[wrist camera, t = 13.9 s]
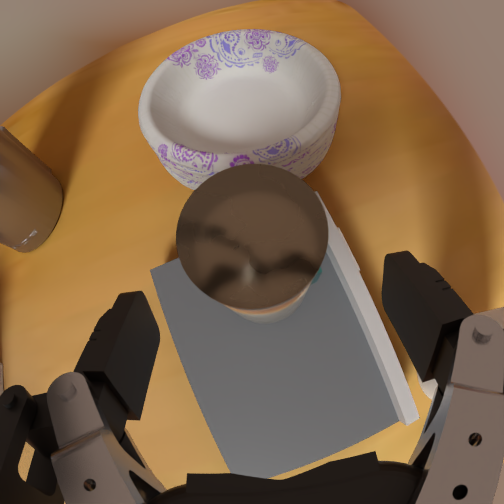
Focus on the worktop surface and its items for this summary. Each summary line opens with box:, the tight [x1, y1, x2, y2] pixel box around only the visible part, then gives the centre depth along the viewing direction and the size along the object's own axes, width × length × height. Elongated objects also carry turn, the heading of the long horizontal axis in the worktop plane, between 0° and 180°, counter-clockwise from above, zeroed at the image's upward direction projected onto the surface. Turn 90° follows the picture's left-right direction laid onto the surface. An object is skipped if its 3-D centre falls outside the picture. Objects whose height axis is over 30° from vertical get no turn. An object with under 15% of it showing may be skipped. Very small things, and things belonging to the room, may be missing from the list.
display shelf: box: [150, 191, 420, 479], centre depth 20 cm, size 17×13×4 cm
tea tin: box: [176, 164, 329, 324], centre depth 16 cm, size 6×6×10 cm
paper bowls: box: [138, 29, 341, 190], centre depth 23 cm, size 15×15×8 cm
